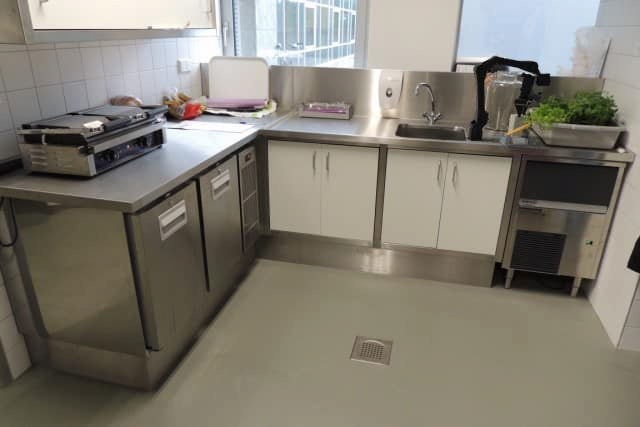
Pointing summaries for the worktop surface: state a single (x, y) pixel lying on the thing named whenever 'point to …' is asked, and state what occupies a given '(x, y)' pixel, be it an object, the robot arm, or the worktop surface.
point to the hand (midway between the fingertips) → (521, 116)
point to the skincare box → (516, 124)
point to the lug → (530, 139)
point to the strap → (517, 129)
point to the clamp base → (514, 141)
